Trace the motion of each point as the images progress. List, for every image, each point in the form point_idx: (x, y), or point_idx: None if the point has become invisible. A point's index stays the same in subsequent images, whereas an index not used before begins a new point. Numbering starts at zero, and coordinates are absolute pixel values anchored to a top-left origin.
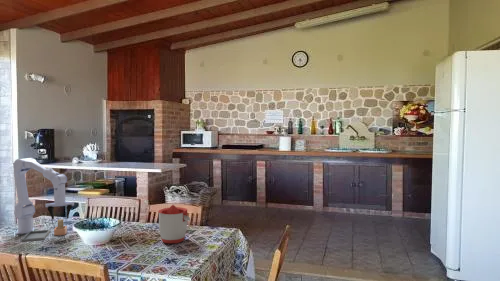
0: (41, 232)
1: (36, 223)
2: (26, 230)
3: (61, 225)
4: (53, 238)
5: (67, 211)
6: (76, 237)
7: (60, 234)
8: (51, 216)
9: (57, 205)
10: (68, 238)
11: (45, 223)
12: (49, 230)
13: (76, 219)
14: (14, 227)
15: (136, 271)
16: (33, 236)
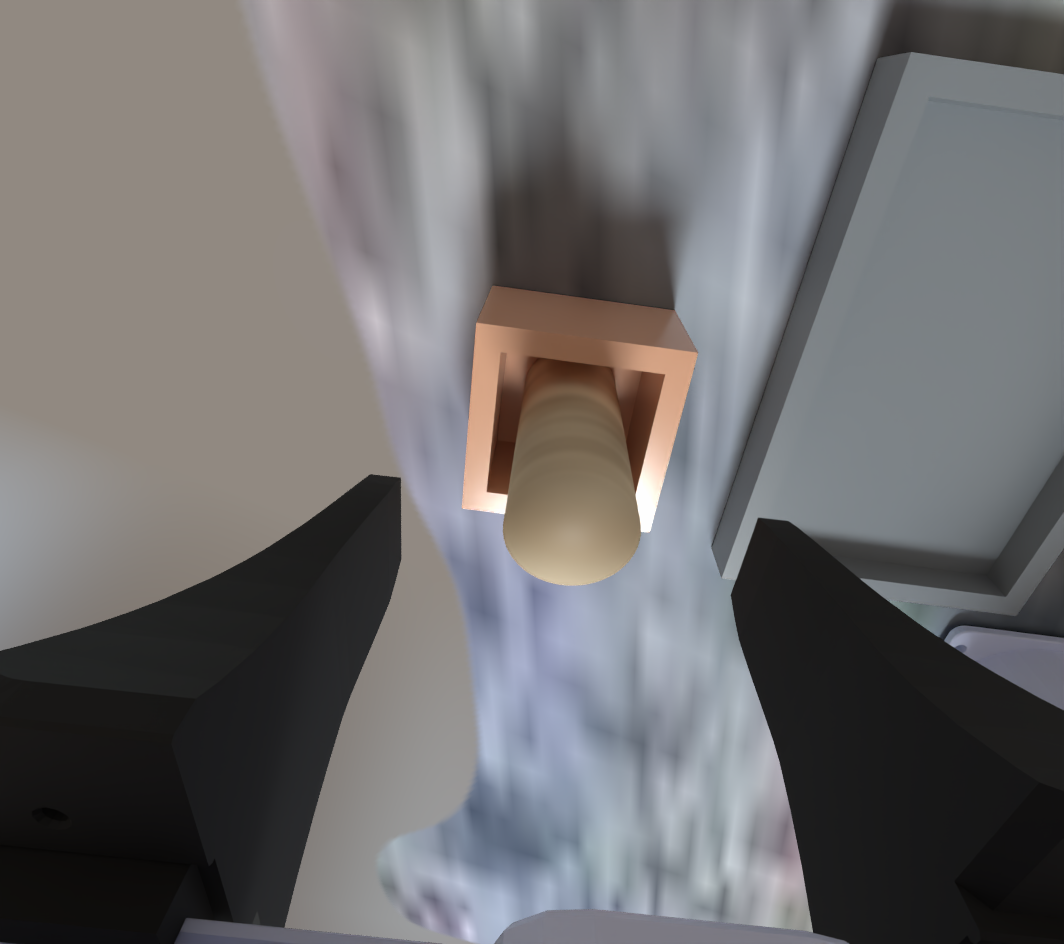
0: (840, 559)
1: None
2: (1031, 671)
3: (550, 416)
4: (693, 168)
5: (278, 591)
6: (262, 23)
7: (572, 304)
8: (846, 568)
9: (835, 941)
10: (414, 16)
11: (729, 883)
12: (740, 536)
13: (426, 890)
14: None
15: None
16: (998, 396)
